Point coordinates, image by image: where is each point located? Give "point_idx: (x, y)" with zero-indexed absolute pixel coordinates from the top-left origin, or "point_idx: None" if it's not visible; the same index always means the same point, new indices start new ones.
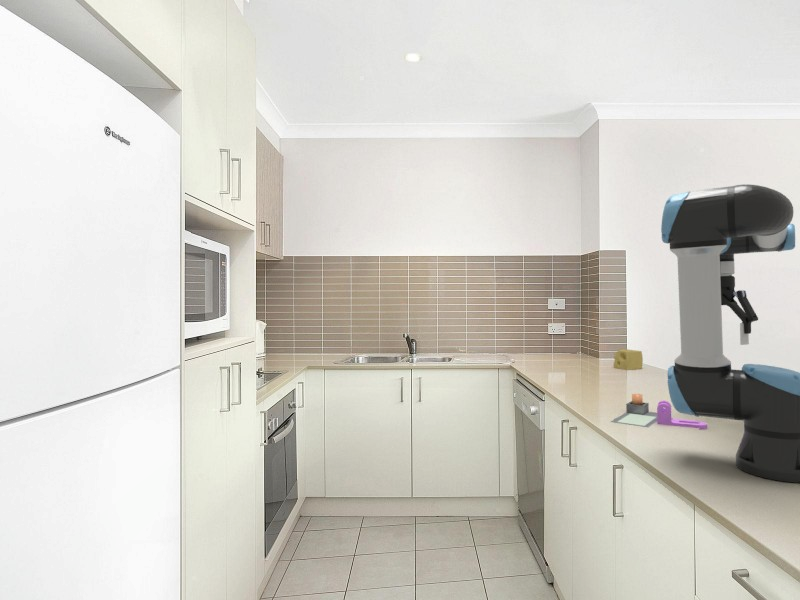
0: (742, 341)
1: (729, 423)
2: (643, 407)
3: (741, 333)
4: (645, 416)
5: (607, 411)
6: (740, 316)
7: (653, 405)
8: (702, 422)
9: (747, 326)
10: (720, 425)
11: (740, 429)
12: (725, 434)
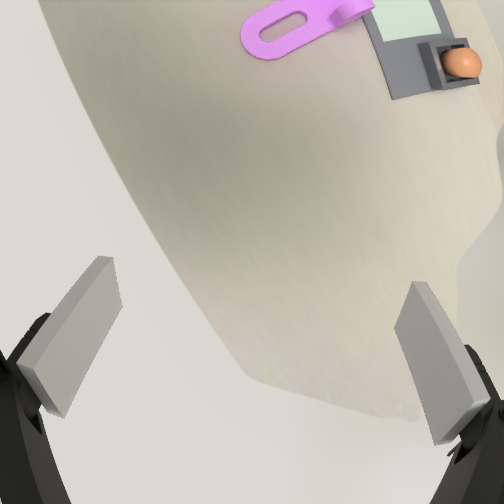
0: (90, 267)
1: (241, 142)
2: (427, 42)
3: (68, 305)
4: (402, 26)
5: (487, 38)
6: (3, 423)
7: (461, 187)
8: (260, 51)
9: (18, 350)
10: (242, 102)
11: (192, 106)
12: (184, 32)
